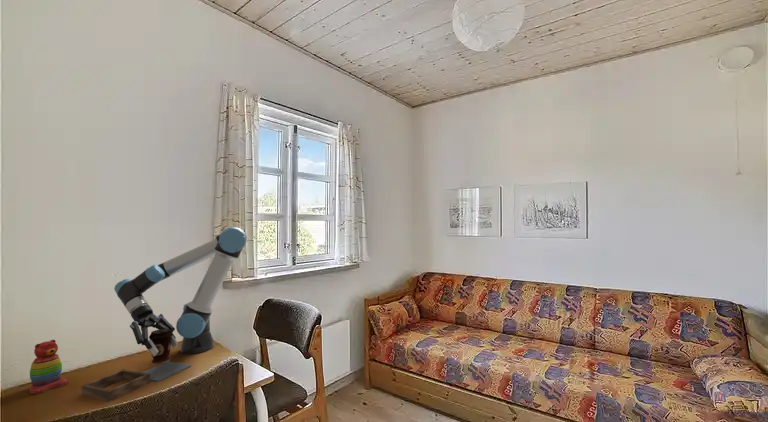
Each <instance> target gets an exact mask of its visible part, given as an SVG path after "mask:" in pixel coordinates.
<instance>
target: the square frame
mask: <svg viewBox="0 0 768 422" xmlns="http://www.w3.org/2000/svg"><path fill="white" fill-rule="evenodd" d="M142 372H143V371H142ZM142 372H140V371H135V370H129V369H122V370H121V369H120V370H119V371H116V372H114V373H111V374H109V375H106V376H103V377H101V378H98V379H96V380H93V381H91V382H88V383H86V384H84V385H81V386H80V387H81V388H80V389H81V391H80V392H81V393H80V394H81V396H82V397H85V398H91V399H95V400H100V401H104V402H105V401H106V402H111V400H112V401H115V400H117V399H118V398H120V397H119V396H121V397H122V395H123V396H125V395H127V394H129V393H131V392H133V391H136V390H137V389H139V388H140V389H141V388H142V387H144V386H146V384H147V385H148V384H150V383H151V381H150V374H148V373H142ZM120 381H127V382H126V383H123V384H120V385H119V386H116V387H113V388H112V389H110V388H109V389H108V388H106V387H108V386H110V385H114V384H115V383H117V382H120ZM117 397H118V398H117Z"/></svg>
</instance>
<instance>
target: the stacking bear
mask: <svg viewBox="0 0 768 422" xmlns="http://www.w3.org/2000/svg"><path fill="white" fill-rule="evenodd" d="M33 350H34V352H33V353H34V355H35V357H36V358H34V360H33V361H32V362H31V364H30V370H29V379H30V381H31V384H32V385H31V386H30V387H29V393H30V394H31V395H39V394H42V393H44V392H47V391H48V390H52V389H54V388H59V387H63V386H65V385H67V384H68V382H69V381H68V380H67V379H66V378H64V377H61V374H62V371H63V370H62V369H63V364H62V363H63V362H62V361H61V357H60V356H59V354H58V350H59V346H58V344H57V343H56V340H55V339H51V340H48V341H43V342H40V343H36V344H35V345H34V349H33Z"/></svg>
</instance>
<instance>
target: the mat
mask: <svg viewBox="0 0 768 422" xmlns="http://www.w3.org/2000/svg"><path fill="white" fill-rule="evenodd" d="M191 367H192V364H189V363H181V362H175V361H174V362H173V361H167V362H164V363H160V364H158V365H156V366H154V367H152V368H150V369H147V370H145V371H142V373H148V374H150V382H155V383H159V382H161V381H162V380H163V381H164V380H165V379H168V378H169V377H171V376H173V375H175V374H178V373H179V372H182V371H185V370H186V369H188V368H191Z"/></svg>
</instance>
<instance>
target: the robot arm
mask: <svg viewBox="0 0 768 422" xmlns="http://www.w3.org/2000/svg"><path fill="white" fill-rule="evenodd" d="M247 238H248V237H247V234H246V232H245V231H244V229H242V228H240V227H237V226H230V227H227V228H226V229H224V230H222V232H221V233H220V234H218V235H216V236H215V237H214V239H212V240H210V241H207V242H205V243H203V244H201V245H199V246H197V247H194V248H192V249H189V250H188V251H186V252H184V253H181V254H179V255H177V256H175V257H173V258H170V259H169V260H166V261H164V262H162V263H159V264H158V265H157V264H152V265H151V266H150V267H147V268H146V269H145V270H143V272H141V273H140V274H138V275H137V276H135V278H133V279H132V278H125V279H122V280H120V281H119V282H117V283H116V284H115V285H114V292H115V293H116V295H117V297H118V299H119V300H120V302H121V303H122V304H123V306H124V308H126V310H127V312H128V313H129V315H130V317H131V318H132V320H133V321H132V322H131V323H130V325H129V328H130V329H131V330H132V332H133V336H134V338H135V341H136V344H137V345H140V344H141V345H142V346H145V348H146V350H148V351H149V352H150V353H152V354H153V356H156V354H157V353H158V352H159V351H158V349H157V348H156V346H155V345H154V343H153V342H152V340H151V339H150V338H149V329H148V328H151V327H152V328H155V329H156V330H161V329H170V330H171V332H172V333H173V332H175V330H176V331H177V334H178V335H179V336H180V337H182V340H181V341H182V342H181V344H180V347H179V349H180V350H179V351H180V353H181V354H187V355H191V354H192V355H193V354H199V353H203V352H206V351H209V350H212V349H213V348H215V347H214V346H215V340H214V338H213V336H212V333H211V320H210V319H211V318H210V317H211V315H212V312H213V309H212V305H213V303H214V301H215V298H216V297H217V294H218V293H219V290H220V288H221V287H222V284H223V283H224V280H225V278H226V277H227V274H228V272H229V271H230V268H231V266H232V264H233V262H234V261H235V260H237V259H239V257H240V255H241V253H242V250H243V248H244V247H245V245H246V243H247ZM211 258H213V259H212V260H211V263H210V264H209V267H208V268H207V270H206V272H205V274H204V277H203V279H202V281H201V282H200V285H199V286H198V289H197V291H196V293H195V294H194V297H193V299H192V300H191V301H189V302H187V303H185V304H183V308H182V310H183V311H182V314H181V315H180V317H179V318H178V319H177V321H176V324H175V326H176V327H174V326H173V324H171V323H170V322H169V321H168V320H167V319H166V318H165V317H164V315H163V314H162V313H160V314H159V315H156V314H154V312H153V309H152V307H151V305H149V302H148V301H147V300H146V299H145V297H144V296H143V294H144V293H145V292H146V291H148V290H149V289H151V288H152V287H154V286H155V285H157V284H158V283H159V282H161V281H163V280H165V279H168V278H170V277H172V276H174V275H176V274H178V273H180V272H182V271H185V270H186V269H189V268H191V267H194V266H195V265H197V264H200V263H202V262H204V261H205V260H208V259H211ZM176 338H177V337H176V336H175V334H174V333H173V335H172V338H171V347H173V349H176V348H177V346H178V345H179V342H178V341H177V339H176Z"/></svg>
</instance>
